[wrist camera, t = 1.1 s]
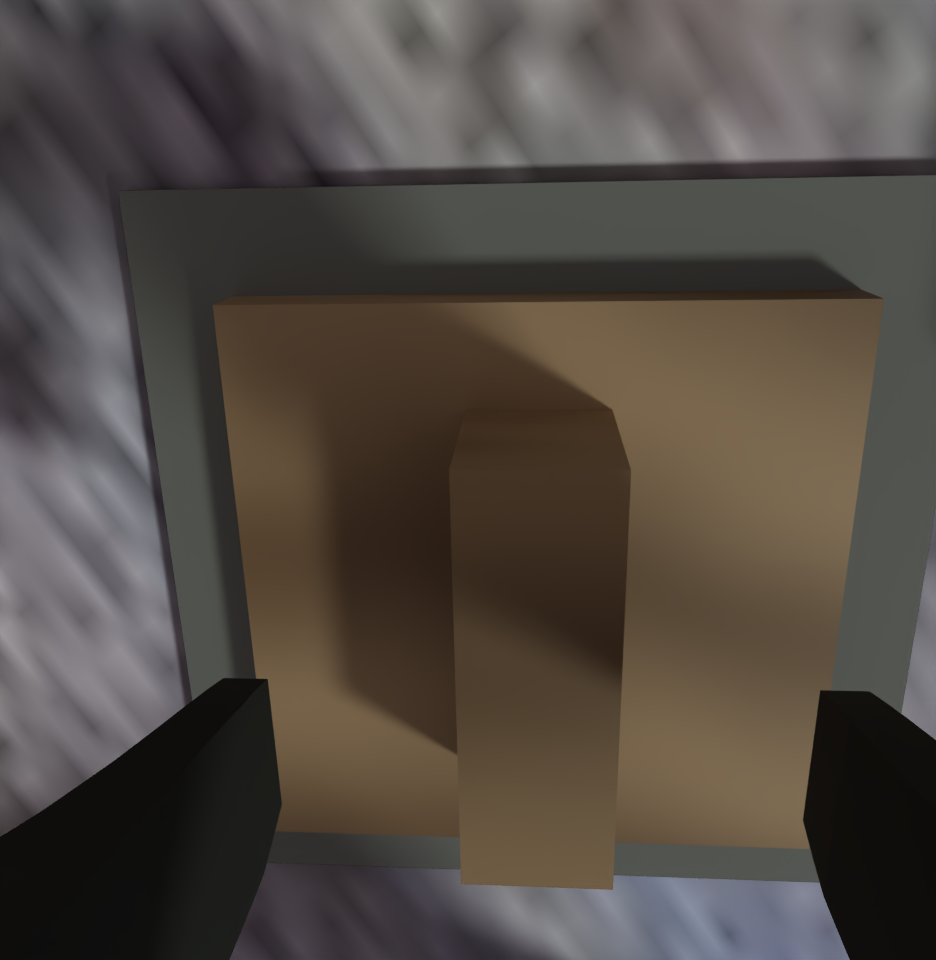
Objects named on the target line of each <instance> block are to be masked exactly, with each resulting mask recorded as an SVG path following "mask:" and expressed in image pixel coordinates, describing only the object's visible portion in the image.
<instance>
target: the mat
mask: <svg viewBox="0 0 936 960" xmlns="http://www.w3.org/2000/svg"><path fill="white" fill-rule="evenodd" d="M118 194H119V201H120V208H121V215H122V222H123V228H124V235H125V242H126V249H127V256H128V263H129V270H130V277H131V283H132V290H133V297H134V304H135V311H136V318H137V325H138V331H139V338H140V345H141V352H142V359H143V366H144V373H145V380H146V386H147V393H148V400H149V407H150V414H151V421H152V428H153V434H154V441H155V448H156V455H157V462H158V469H159V476H160V483H161V489H162V496H163V503H164V510H165V517H166V524H167V531H168V537H169V544H170V551H171V558H172V565H173V572H174V579H175V585H176V592H177V599H178V606H179V613H180V620H181V627H182V634H183V640H184V647H185V654H186V661H187V668H188V675H189V682H190V688H191V695H192V701H193V700H194V699H195V698H197V697H198V696H199V695H200V694H202V693H203V692H204V691H206V690H207V689H208V688H210V687H211V686H213V685H214V684H215V683H217V682H218V681H220V680H221V679H223V678H249V679H256V673H255V665H254V656H253V647H252V639H251V630H250V622H249V613H248V604H247V596H246V587H245V579H244V570H243V561H242V553H241V544H240V536H239V527H238V518H237V510H236V501H235V493H234V484H233V475H232V467H231V458H230V450H229V441H228V433H227V424H226V415H225V407H224V398H223V390H222V381H221V372H220V364H219V355H218V347H217V338H216V329H215V321H214V312H213V305H214V304H217V303H219V302H221V301H223V300H225V299H227V298H230V297H232V296H301V295H395V294H489V293H582V292H676V291H770V290H864V291H866V292H869V293H871V294H874V295H876V296H879V297H881V298H884V302H883V309H882V317H881V324H880V331H879V339H878V346H877V354H876V361H875V368H874V376H873V383H872V390H871V398H870V405H869V412H868V420H867V427H866V434H865V442H864V449H863V457H862V464H861V471H860V479H859V486H858V493H857V501H856V508H855V515H854V523H853V530H852V538H851V545H850V552H849V560H848V567H847V574H846V582H845V589H844V596H843V604H842V611H841V619H840V626H839V633H838V641H837V648H836V655H835V663H834V670H833V677H832V685H831V690H832V691H870V692H871V693H873V694H874V695H876V696H877V697H879V698H880V699H882V700H883V701H884V702H886V703H887V704H889V705H890V706H891V707H893V708H894V709H895V710H897V711H898V712H899V713H901V711H902V706H903V700H904V694H905V688H906V682H907V676H908V670H909V664H910V658H911V652H912V646H913V640H914V634H915V628H916V622H917V617H918V611H919V605H920V599H921V593H922V587H923V581H924V575H925V569H926V563H927V557H928V551H929V545H930V539H931V533H932V527H933V522H934V516H935V510H936V175H885V176H834V177H783V178H732V179H681V180H630V181H579V182H528V183H477V184H426V185H375V186H324V187H273V188H222V189H171V190H126V191H118ZM267 863H294V864H322V865H349V866H377V867H404V868H432V869H460V870H461V861H460V837H434V836H404V835H374V834H344V833H315V832H285V831H275V834H274V838H273V842H272V846H271V849H270V853H269V856H268V860H267ZM614 875H625V876H653V877H680V878H708V879H736V880H763V881H791V882H818V883H820V882H819V878H818V875H817V871H816V868H815V865H814V861H813V857H812V853H811V850H810V847H809V849H791V848H761V847H731V846H701V845H672V844H642V843H615V852H614Z"/></svg>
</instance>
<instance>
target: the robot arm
mask: <svg viewBox="0 0 936 960" xmlns="http://www.w3.org/2000/svg"><path fill="white" fill-rule="evenodd" d="M281 806H282V800H281V791H280V782H279V773H278V765H277V756H276V747H275V738H274V729H273V720H272V712H271V703H270V694H269V685H268V679H249V678H223V679H221V680H220V681H218V682H217V683H215V684H214V685H213V686H211V687H210V688H208V689H207V690H206V691H204V692H203V693H202V694H200V695H199V696H198V697H197V698H195V699H194V700H193V701H191V702H190V703H189V704H188V705H186V706H185V707H184V708H182V709H181V710H180V711H179V712H177V713H176V714H175V715H173V716H172V717H171V718H170V719H168V720H167V721H166V722H164V723H163V724H162V725H161V726H159V727H158V728H157V729H155V730H154V731H153V732H151V733H150V734H149V735H148V736H146V737H145V738H144V739H142V740H141V741H140V742H138V743H137V744H136V745H134V746H133V747H132V748H130V749H129V750H128V751H127V752H125V753H124V754H123V755H121V756H120V757H119V758H117V759H116V760H115V761H113V762H112V763H111V764H109V765H108V766H106V767H105V768H103V769H102V770H100V771H99V772H98V773H96V774H95V775H93V776H92V777H90V778H89V779H88V780H86V781H85V782H83V783H82V784H80V785H79V786H77V787H76V788H75V789H73V790H72V791H70V792H69V793H67V794H66V795H65V796H63V797H62V798H60V799H59V800H57V801H56V802H54V803H53V804H52V805H50V806H49V807H47V808H46V809H44V810H43V811H41V812H40V813H38V814H36V815H35V816H33V817H32V818H30V819H29V820H27V821H25V822H24V823H22V824H21V825H19V826H17V827H16V828H14V829H12V830H11V831H9V832H8V833H6V834H4V835H2V836H1V837H0V960H229V959H230V957H231V954H232V952H233V949H234V947H235V944H236V942H237V940H238V937H239V935H240V932H241V930H242V927H243V925H244V922H245V920H246V917H247V915H248V912H249V910H250V907H251V905H252V902H253V900H254V897H255V895H256V892H257V890H258V887H259V885H260V882H261V880H262V877H263V874H264V871H265V867H266V863H267V860H268V856H269V853H270V849H271V846H272V842H273V838H274V834H275V830H276V826H277V822H278V818H279V814H280V810H281ZM803 823H804V827H805V830H806V834H807V838H808V842H809V846H810V850H811V853H812V857H813V861H814V865H815V868H816V871H817V875H818V878H819V882H820V885H821V889H822V892H823V896H824V898H825V901H826V903H827V906H828V908H829V911H830V913H831V915H832V918H833V920H834V923H835V925H836V928H837V930H838V932H839V935H840V937H841V940H842V942H843V945H844V947H845V949H846V952H847V954H848V957H849V959H850V960H936V740H935V739H934V738H932V737H931V736H930V735H928V734H927V733H926V732H924V731H923V730H922V729H920V728H919V727H918V726H917V725H915V724H914V723H913V722H911V721H910V720H909V719H907V718H906V717H905V716H903V715H902V714H901V713H899V712H898V711H897V710H895V709H894V708H893V707H891V706H890V705H889V704H887V703H886V702H884V701H883V700H882V699H880V698H879V697H877V696H876V695H874V694H873V693H871V692H870V691H832V690H820V695H819V703H818V710H817V718H816V725H815V733H814V740H813V748H812V755H811V763H810V770H809V778H808V785H807V793H806V800H805V807H804V815H803Z"/></svg>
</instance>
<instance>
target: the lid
mask: <svg viewBox="0 0 936 960" xmlns="http://www.w3.org/2000/svg"><path fill="white" fill-rule="evenodd" d="M883 302H884V298H881V297H879V296H876V295H874V294H871V293H869V292H866V291H864V290H770V291H676V292H582V293H489V294H395V295H301V296H232V297H230V298H227V299H225V300H223V301H221V302H219V303H217V304H214V305H213V312H214V321H215V329H216V338H217V347H218V355H219V364H220V372H221V381H222V390H223V398H224V407H225V415H226V424H227V433H228V441H229V450H230V458H231V467H232V475H233V484H234V493H235V501H236V510H237V518H238V527H239V536H240V544H241V553H242V561H243V570H244V579H245V587H246V596H247V604H248V613H249V622H250V630H251V639H252V647H253V656H254V665H255V673H256V679H268V685H269V694H270V703H271V712H272V720H273V729H274V738H275V747H276V756H277V765H278V773H279V782H280V791H281V800H282V806H281V810H280V814H279V818H278V822H277V826H276V830H275V831H285V832H315V833H344V834H374V835H404V836H434V837H460V861H461V884H477V885H503V886H530V887H557V888H584V889H610V890H613V875H614V852H615V843H642V844H672V845H701V846H731V847H761V848H791V849H809V847H810V846H809V842H808V838H807V834H806V830H805V827H804V823H803V815H804V807H805V800H806V793H807V785H808V778H809V770H810V763H811V755H812V748H813V740H814V733H815V725H816V718H817V710H818V703H819V695H820V690H831V685H832V677H833V670H834V663H835V655H836V648H837V641H838V633H839V626H840V619H841V611H842V604H843V596H844V589H845V582H846V574H847V567H848V560H849V552H850V545H851V538H852V530H853V523H854V515H855V508H856V501H857V493H858V486H859V479H860V471H861V464H862V457H863V449H864V442H865V434H866V427H867V420H868V412H869V405H870V398H871V390H872V383H873V376H874V368H875V361H876V354H877V346H878V339H879V331H880V324H881V317H882V309H883Z"/></svg>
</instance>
